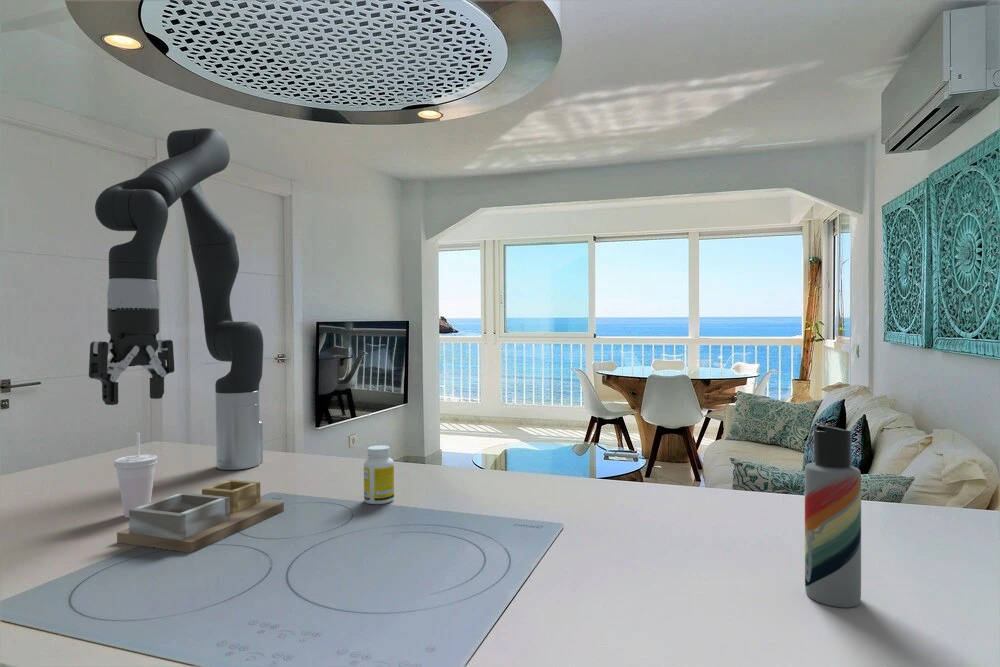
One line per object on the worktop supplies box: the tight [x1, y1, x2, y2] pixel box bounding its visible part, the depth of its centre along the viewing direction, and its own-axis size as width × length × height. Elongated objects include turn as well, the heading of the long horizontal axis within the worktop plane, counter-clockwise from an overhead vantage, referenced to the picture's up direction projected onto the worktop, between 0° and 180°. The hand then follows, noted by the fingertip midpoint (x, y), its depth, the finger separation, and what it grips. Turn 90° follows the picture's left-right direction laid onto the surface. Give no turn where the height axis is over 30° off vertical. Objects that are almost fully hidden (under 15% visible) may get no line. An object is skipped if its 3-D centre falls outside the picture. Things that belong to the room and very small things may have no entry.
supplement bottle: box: [363, 444, 395, 505], centre depth 108 cm, size 5×5×10 cm
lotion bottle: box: [804, 424, 862, 608], centre depth 69 cm, size 6×6×20 cm
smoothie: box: [113, 431, 159, 519], centre depth 101 cm, size 6×6×14 cm
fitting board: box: [116, 479, 285, 554], centre depth 95 cm, size 20×14×5 cm
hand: (134, 401), depth 101 cm, fingers open, 8 cm apart
